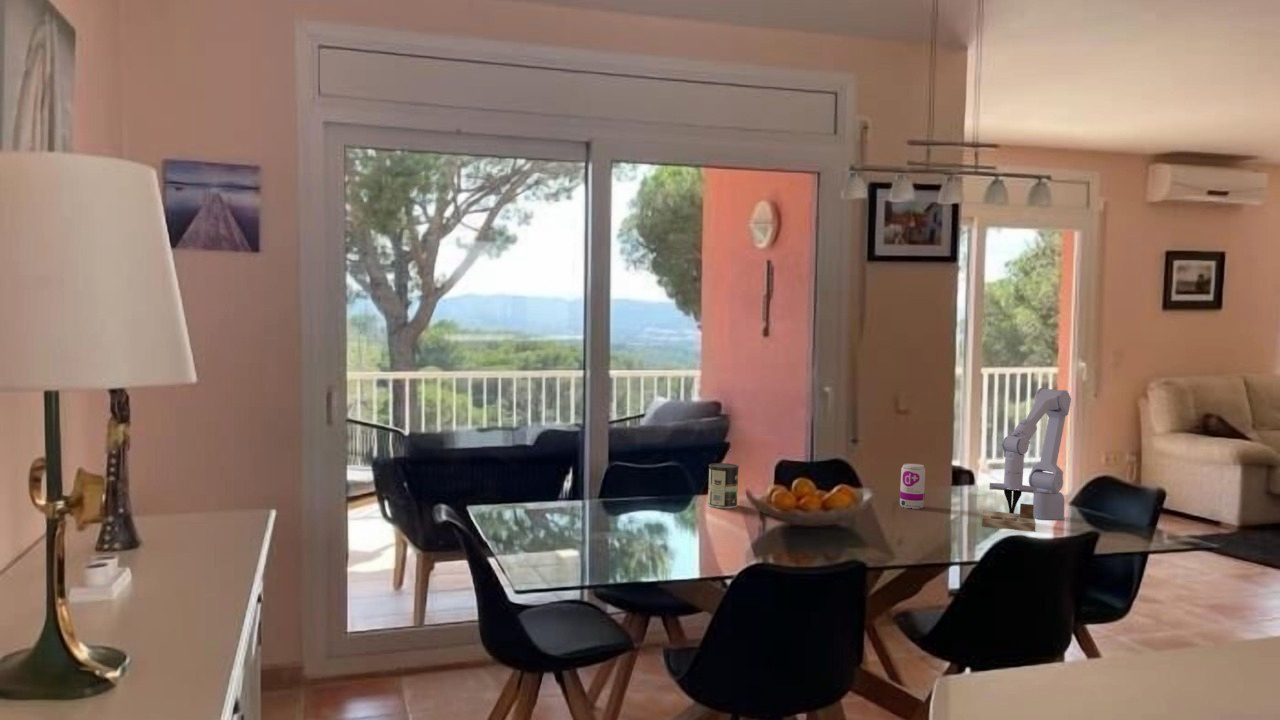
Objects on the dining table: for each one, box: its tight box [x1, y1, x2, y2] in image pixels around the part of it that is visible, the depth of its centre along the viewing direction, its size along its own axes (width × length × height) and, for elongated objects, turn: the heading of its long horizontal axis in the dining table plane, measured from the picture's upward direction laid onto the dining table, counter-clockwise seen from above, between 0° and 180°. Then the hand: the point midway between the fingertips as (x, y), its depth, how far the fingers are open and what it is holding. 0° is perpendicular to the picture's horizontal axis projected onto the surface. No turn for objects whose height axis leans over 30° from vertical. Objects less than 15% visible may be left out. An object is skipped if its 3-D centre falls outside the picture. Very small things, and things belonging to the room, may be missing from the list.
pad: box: [1017, 513, 1036, 521], centre depth 315 cm, size 5×8×2 cm, turn 159°
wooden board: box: [981, 510, 1036, 532], centre depth 314 cm, size 16×14×2 cm
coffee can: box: [707, 462, 739, 510], centre depth 329 cm, size 10×10×14 cm
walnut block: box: [1019, 503, 1034, 519], centre depth 314 cm, size 4×4×4 cm
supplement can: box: [899, 463, 927, 510], centre depth 337 cm, size 8×8×15 cm
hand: (1011, 512), depth 316 cm, fingers closed
